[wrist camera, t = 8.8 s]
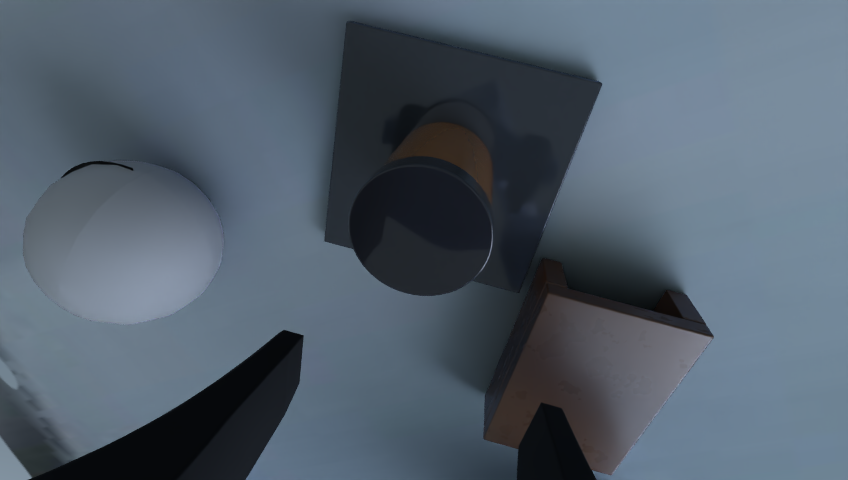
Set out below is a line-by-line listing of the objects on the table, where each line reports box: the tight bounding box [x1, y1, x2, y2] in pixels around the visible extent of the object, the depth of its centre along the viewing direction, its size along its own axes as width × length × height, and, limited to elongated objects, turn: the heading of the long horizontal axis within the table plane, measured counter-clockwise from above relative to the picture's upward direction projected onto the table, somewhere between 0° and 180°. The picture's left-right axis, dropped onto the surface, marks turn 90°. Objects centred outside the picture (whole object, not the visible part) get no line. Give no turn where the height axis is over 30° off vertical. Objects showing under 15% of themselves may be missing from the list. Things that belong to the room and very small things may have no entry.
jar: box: [348, 122, 494, 296], centre depth 16 cm, size 5×5×6 cm
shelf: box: [483, 258, 714, 475], centre depth 21 cm, size 10×7×3 cm
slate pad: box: [325, 21, 602, 293], centre depth 18 cm, size 10×10×1 cm
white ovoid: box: [23, 160, 224, 325], centre depth 19 cm, size 10×7×7 cm
